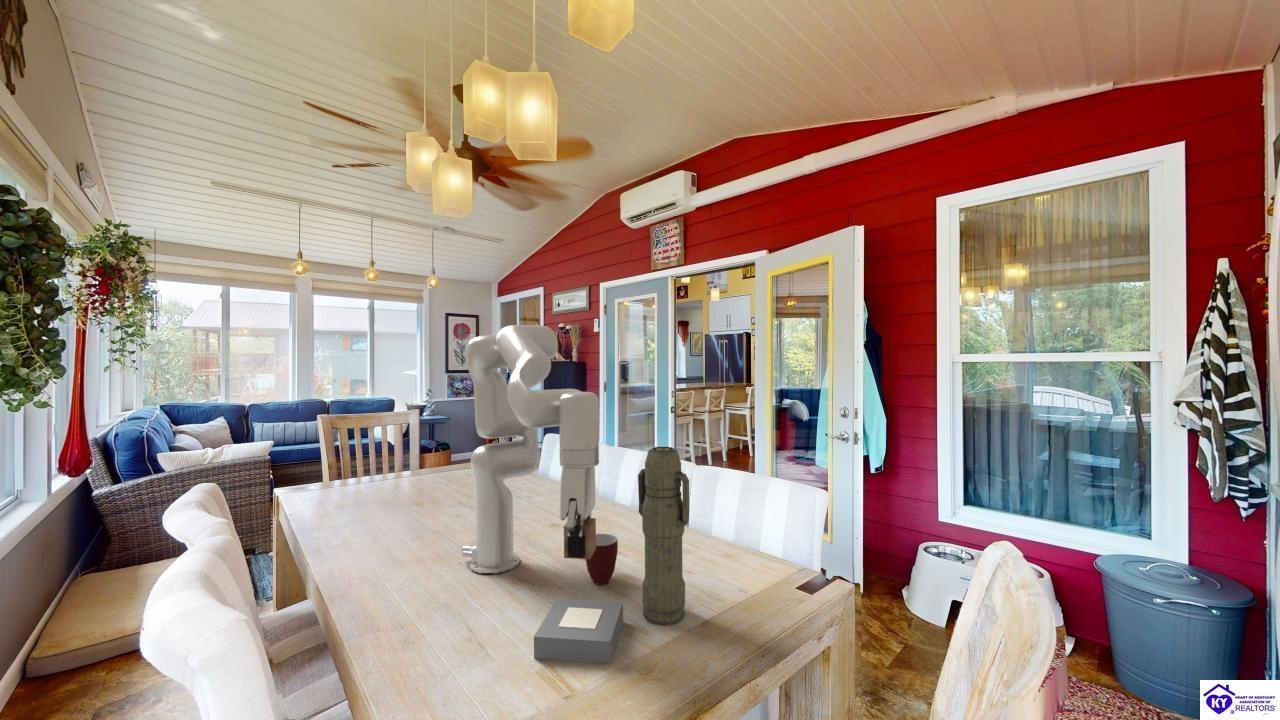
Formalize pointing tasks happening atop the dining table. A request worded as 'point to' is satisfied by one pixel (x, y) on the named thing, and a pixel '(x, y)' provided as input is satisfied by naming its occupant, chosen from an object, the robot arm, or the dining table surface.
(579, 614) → the slate pedestal
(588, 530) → the walnut block
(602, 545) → the mug
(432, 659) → the dining table surface
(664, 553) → the thermos
